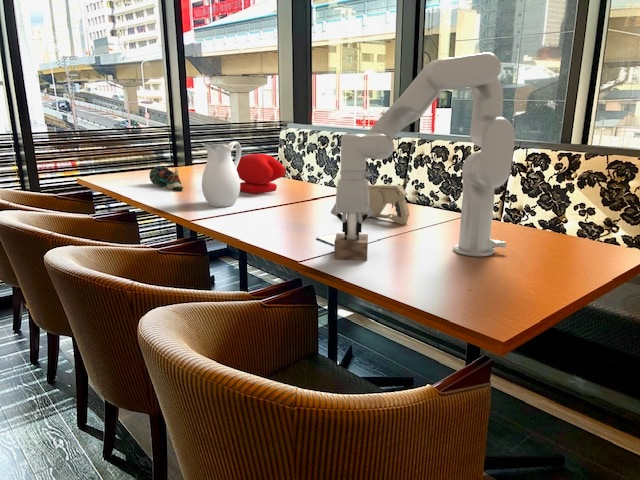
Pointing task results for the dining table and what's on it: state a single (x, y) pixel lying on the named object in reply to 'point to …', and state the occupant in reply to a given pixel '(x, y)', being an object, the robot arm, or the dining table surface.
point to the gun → (389, 202)
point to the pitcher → (221, 175)
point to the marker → (352, 226)
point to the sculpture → (166, 178)
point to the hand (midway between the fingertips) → (351, 233)
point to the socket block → (351, 247)
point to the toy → (259, 173)
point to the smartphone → (328, 239)
